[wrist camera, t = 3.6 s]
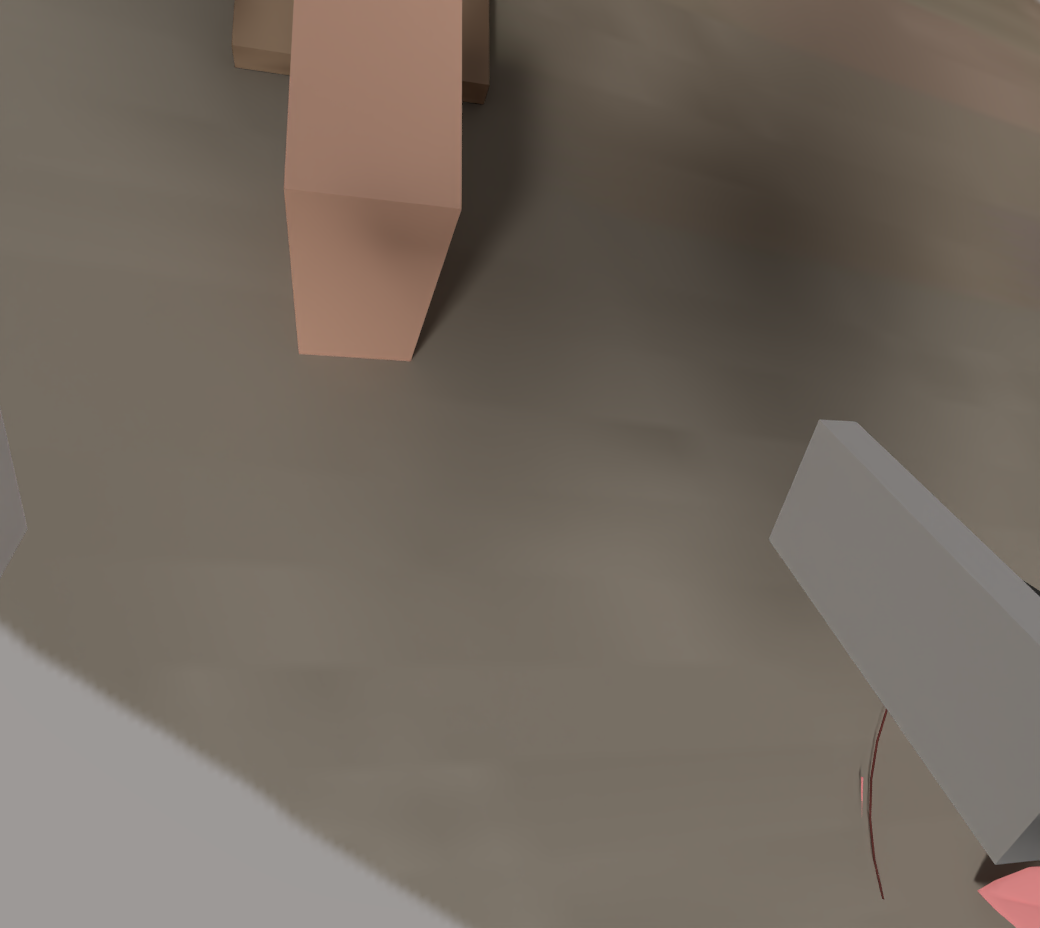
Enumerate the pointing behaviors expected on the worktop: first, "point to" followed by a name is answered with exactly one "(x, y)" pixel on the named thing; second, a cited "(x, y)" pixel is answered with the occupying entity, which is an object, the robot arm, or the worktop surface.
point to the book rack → (269, 39)
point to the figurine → (996, 883)
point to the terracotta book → (371, 169)
